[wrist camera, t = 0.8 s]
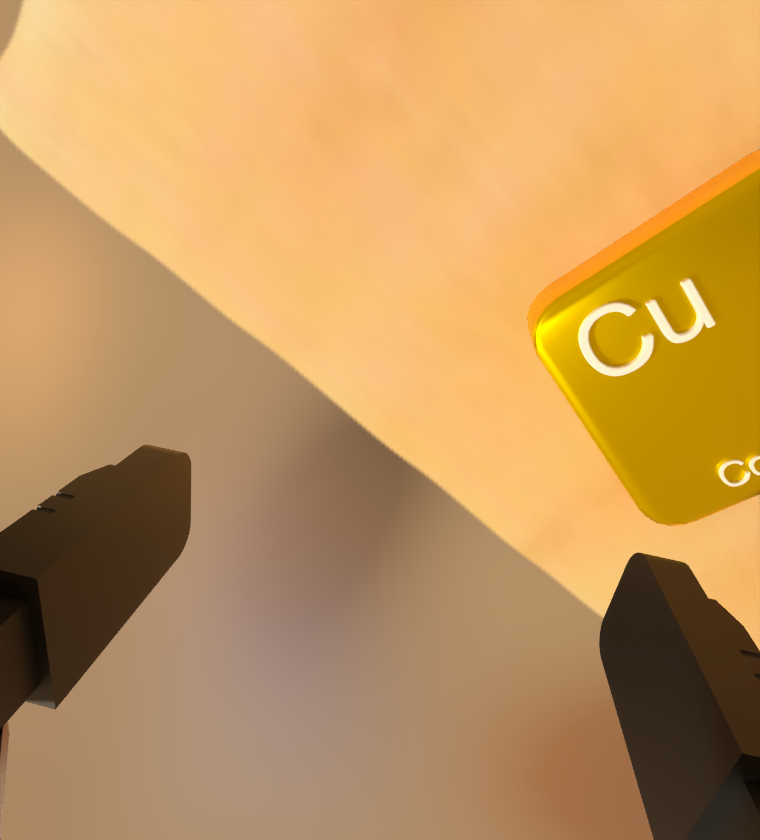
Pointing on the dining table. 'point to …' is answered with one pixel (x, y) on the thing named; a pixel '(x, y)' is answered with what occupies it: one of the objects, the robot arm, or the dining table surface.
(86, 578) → the robot arm
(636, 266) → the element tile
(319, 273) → the dining table surface
